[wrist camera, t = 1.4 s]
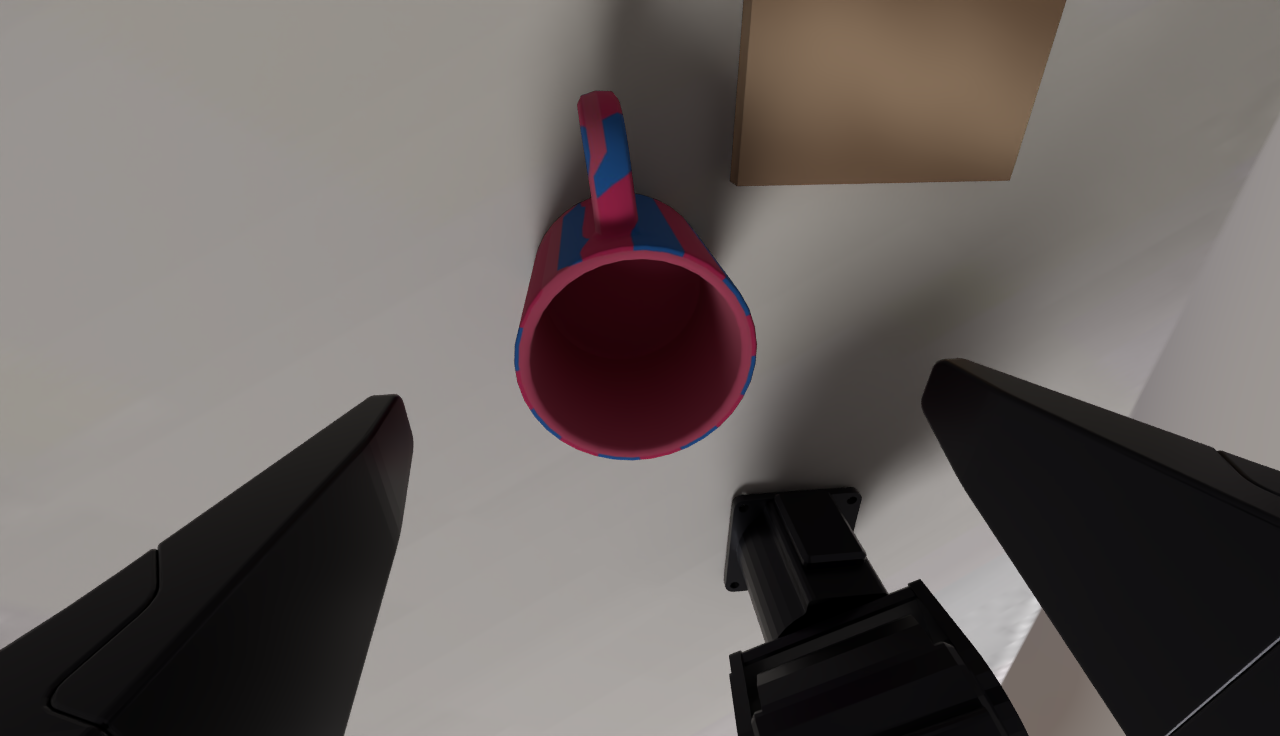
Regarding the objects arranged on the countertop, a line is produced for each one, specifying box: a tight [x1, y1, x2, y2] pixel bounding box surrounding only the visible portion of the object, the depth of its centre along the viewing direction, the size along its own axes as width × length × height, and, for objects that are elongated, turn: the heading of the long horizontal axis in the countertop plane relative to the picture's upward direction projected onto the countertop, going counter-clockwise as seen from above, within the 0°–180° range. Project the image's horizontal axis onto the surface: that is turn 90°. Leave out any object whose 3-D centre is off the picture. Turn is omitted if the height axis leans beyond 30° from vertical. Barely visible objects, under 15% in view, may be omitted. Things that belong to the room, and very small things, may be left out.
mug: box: [514, 91, 757, 460], centre depth 17 cm, size 7×10×7 cm
